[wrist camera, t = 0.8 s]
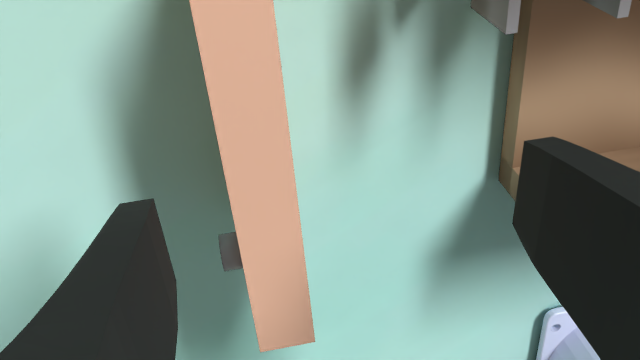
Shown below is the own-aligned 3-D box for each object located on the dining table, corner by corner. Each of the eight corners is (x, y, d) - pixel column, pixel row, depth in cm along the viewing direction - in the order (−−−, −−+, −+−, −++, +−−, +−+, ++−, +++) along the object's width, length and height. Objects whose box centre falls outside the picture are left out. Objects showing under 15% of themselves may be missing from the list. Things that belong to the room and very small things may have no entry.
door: (284, 204, 23) (315, 341, 17) (223, 214, 23) (232, 357, 17) (242, -108, 17) (265, -57, 11) (156, -98, 17) (135, -42, 11)
